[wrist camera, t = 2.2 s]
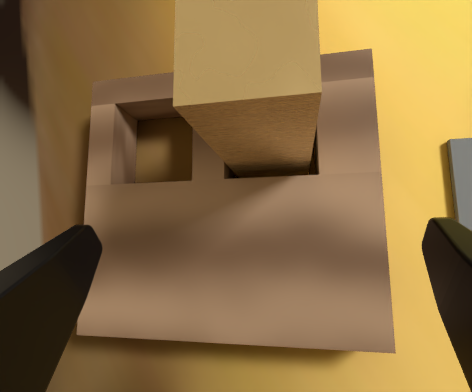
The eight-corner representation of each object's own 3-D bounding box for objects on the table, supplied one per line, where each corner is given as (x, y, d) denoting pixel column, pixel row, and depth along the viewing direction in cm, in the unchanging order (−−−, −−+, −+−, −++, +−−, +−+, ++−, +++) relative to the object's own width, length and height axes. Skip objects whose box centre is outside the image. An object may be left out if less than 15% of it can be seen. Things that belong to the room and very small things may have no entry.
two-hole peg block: (379, 335, 18) (395, 353, 15) (106, 322, 22) (76, 334, 19) (361, 75, 21) (371, 48, 18) (117, 101, 24) (92, 81, 21)
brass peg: (308, 177, 20) (321, 91, 9) (241, 180, 21) (172, 106, 10) (305, 112, 21) (314, -47, 9) (240, 118, 22) (175, -21, 10)
